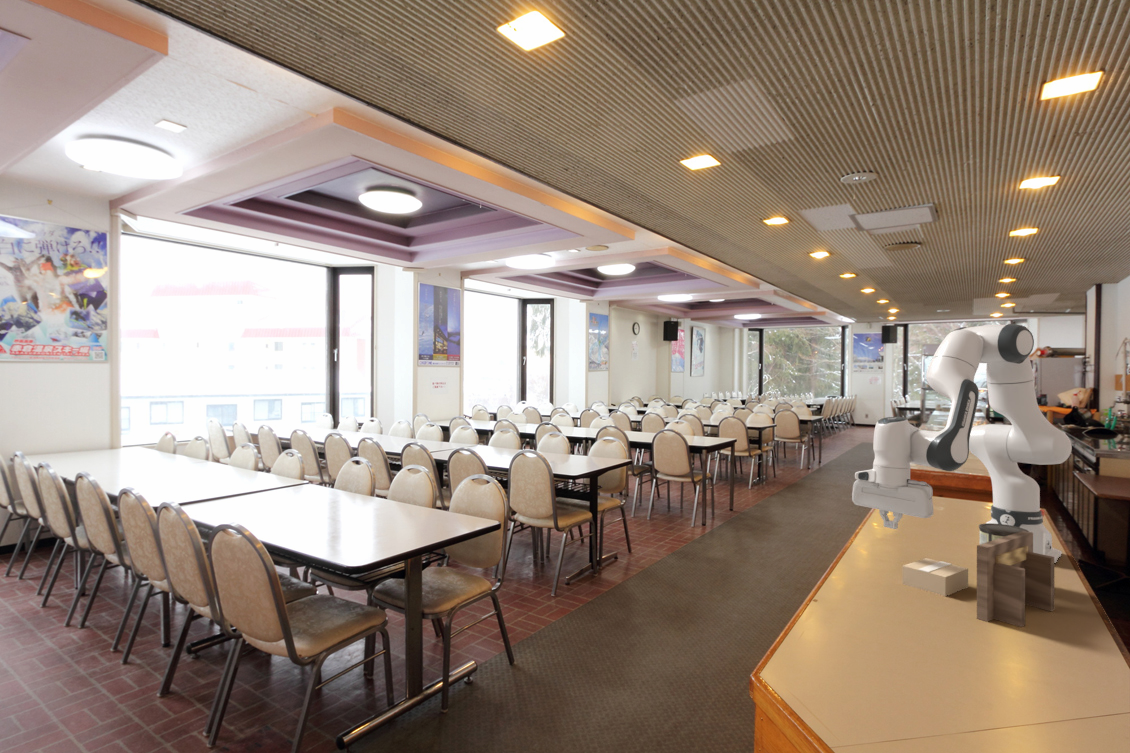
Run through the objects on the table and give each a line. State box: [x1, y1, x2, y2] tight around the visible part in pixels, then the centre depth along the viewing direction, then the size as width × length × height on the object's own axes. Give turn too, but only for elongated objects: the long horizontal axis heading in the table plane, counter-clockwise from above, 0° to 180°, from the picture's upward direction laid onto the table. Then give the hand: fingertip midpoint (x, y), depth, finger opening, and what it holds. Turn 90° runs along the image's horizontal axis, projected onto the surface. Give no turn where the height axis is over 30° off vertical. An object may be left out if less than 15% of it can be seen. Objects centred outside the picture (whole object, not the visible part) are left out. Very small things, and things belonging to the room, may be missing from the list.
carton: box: [902, 557, 969, 597], centre depth 145 cm, size 12×10×5 cm
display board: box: [976, 531, 1055, 628], centre depth 129 cm, size 24×7×16 cm, turn 122°
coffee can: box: [978, 522, 1029, 545], centre depth 148 cm, size 10×10×14 cm
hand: (890, 527), depth 154 cm, fingers closed
